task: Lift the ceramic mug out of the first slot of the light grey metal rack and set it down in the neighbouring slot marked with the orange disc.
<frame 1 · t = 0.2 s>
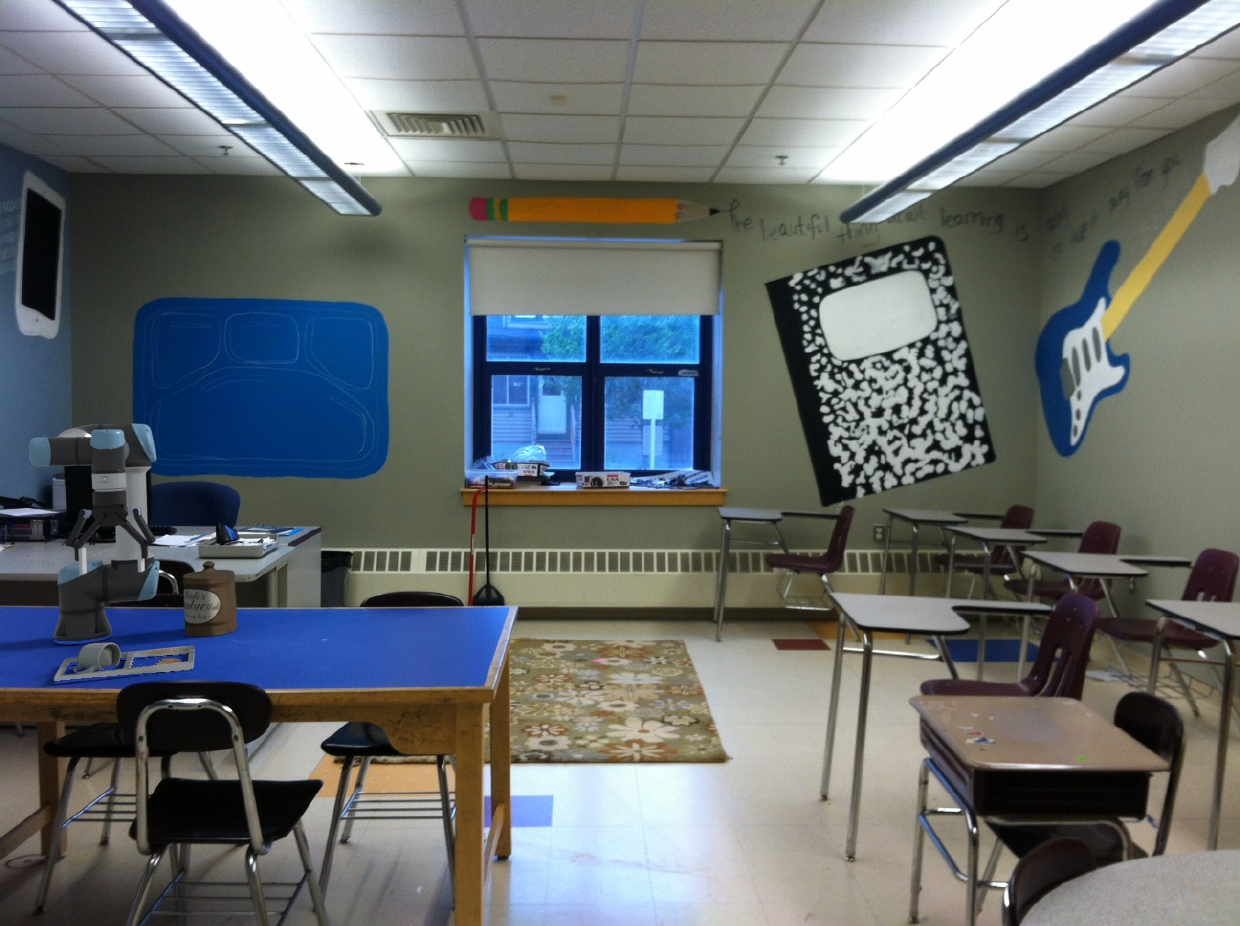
hand: (112, 572, 227), 27 cm above the table, fingers open, 13 cm apart
wooden container: (211, 631, 276), on the table
slot rack: (129, 667, 236), on the table
ceramic mug: (95, 672, 232), on the table
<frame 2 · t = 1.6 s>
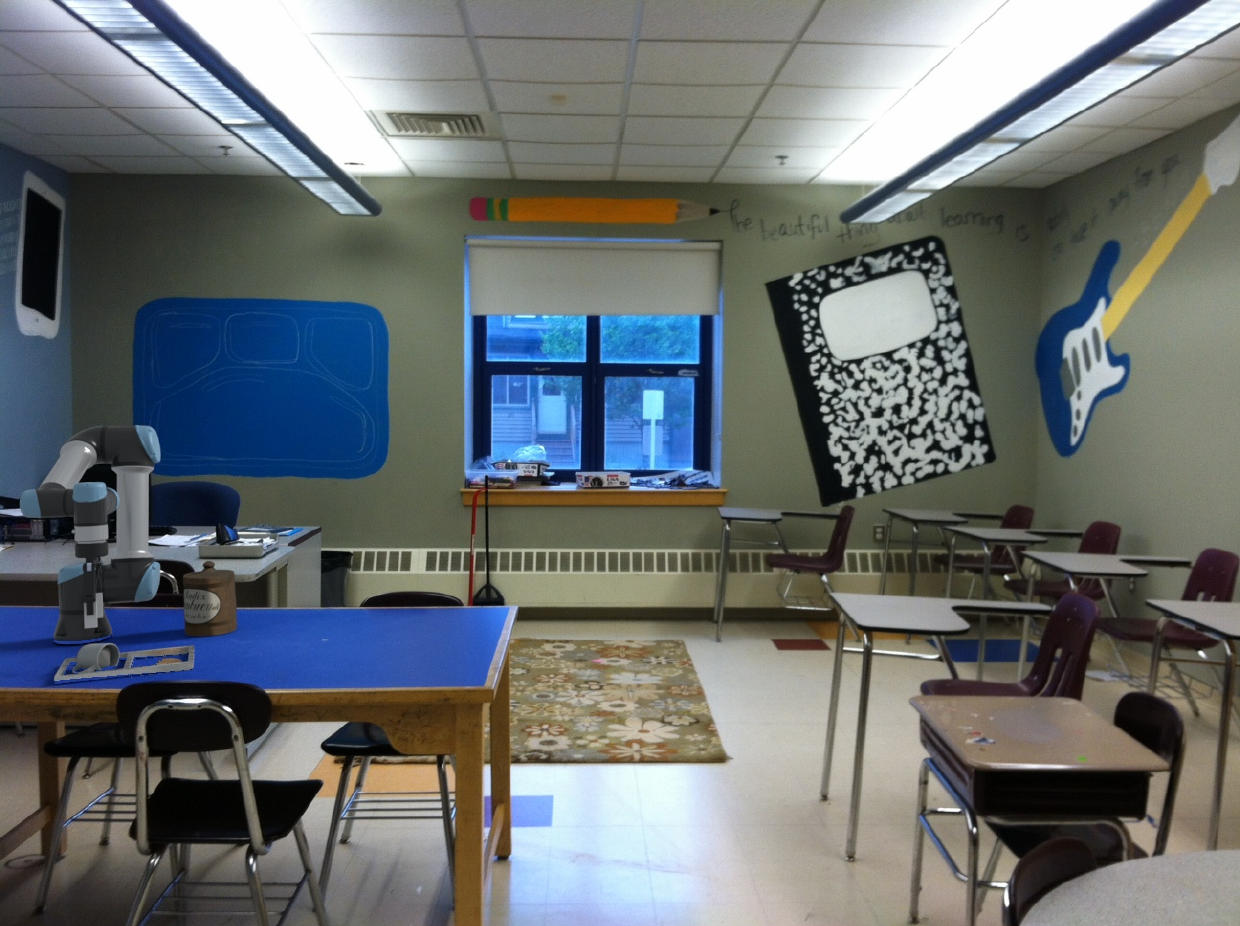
hand: (94, 622, 232), 13 cm above the table, fingers open, 13 cm apart
nothing on the table moved.
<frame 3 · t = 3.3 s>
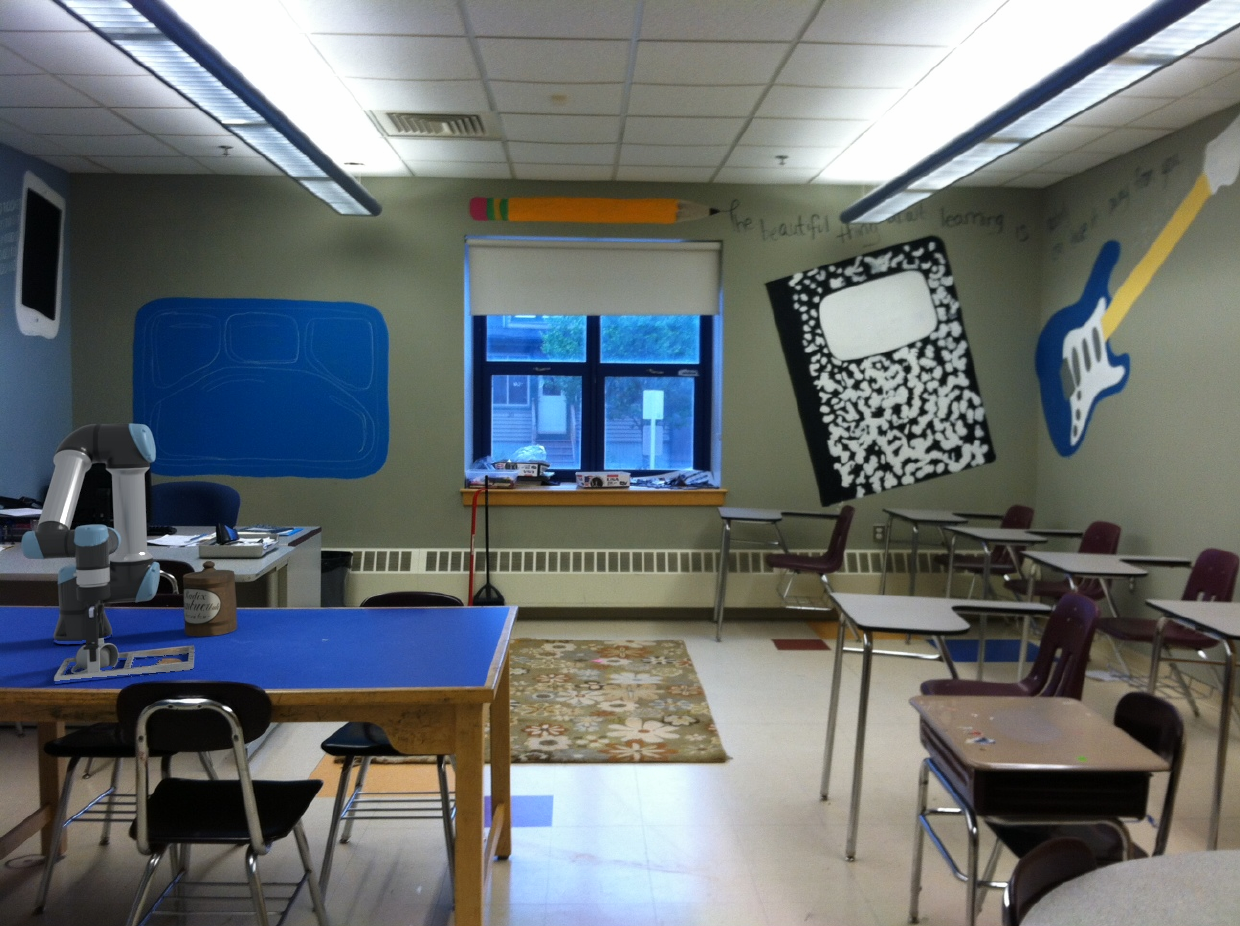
hand: (96, 668, 233), 1 cm above the table, fingers closed on ceramic mug, 10 cm apart
ceramic mug: (93, 672, 232), on the table, touching gripper
everything else where it was.
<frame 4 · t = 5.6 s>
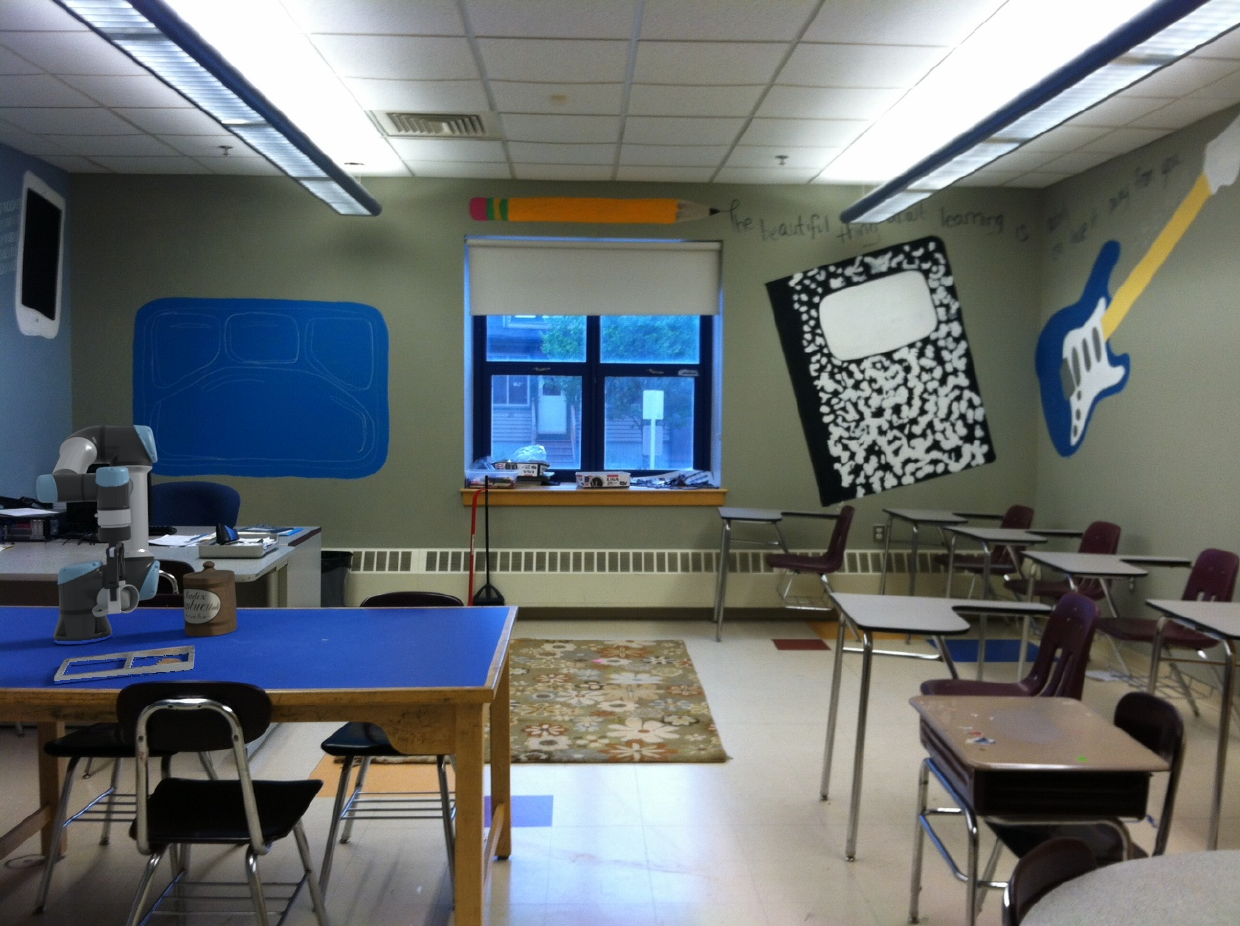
hand: (117, 609, 234), 16 cm above the table, fingers closed on ceramic mug, 10 cm apart
ceramic mug: (114, 614, 233), point 15 cm above the table, touching gripper
everything else where it was.
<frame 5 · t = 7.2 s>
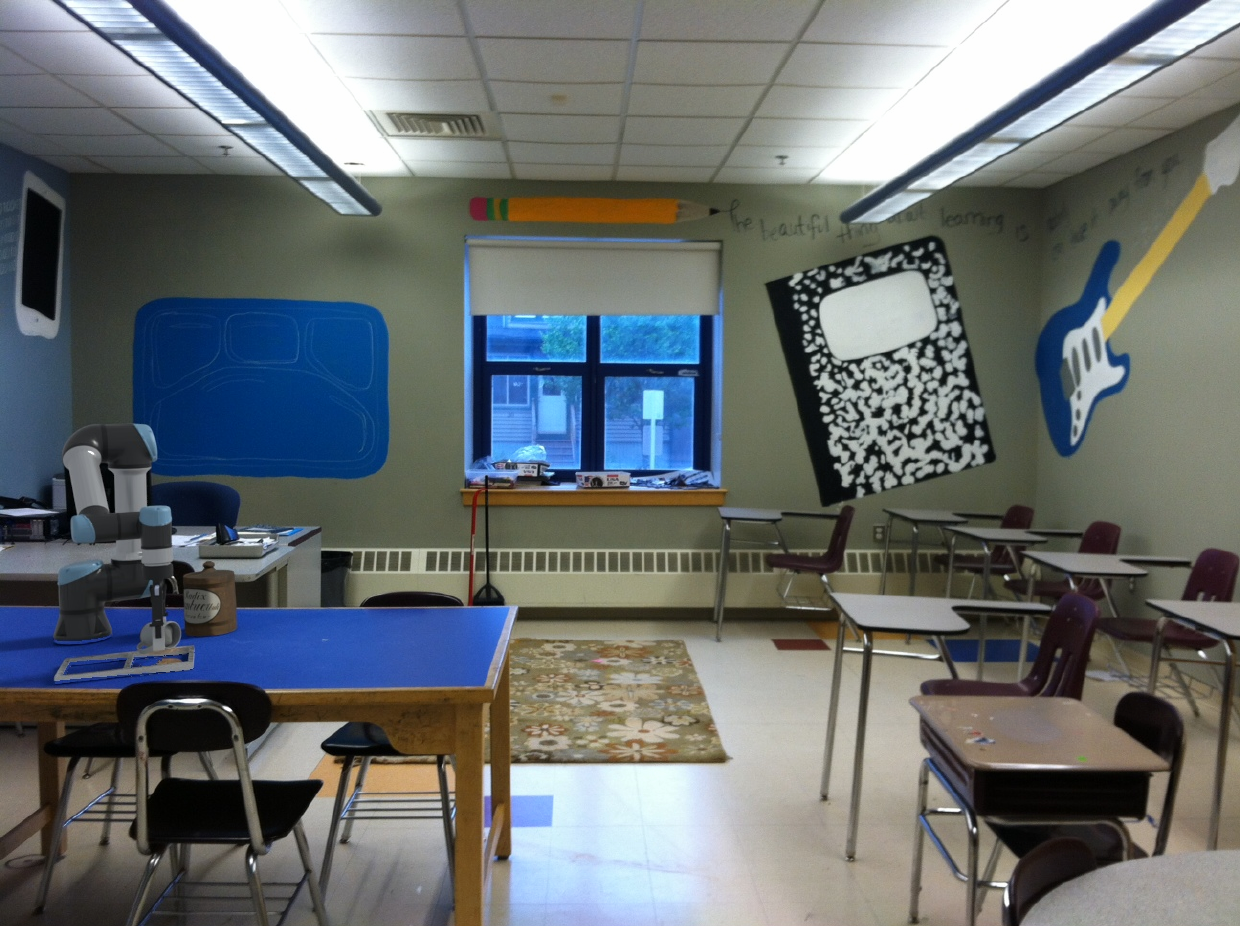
hand: (160, 645, 239), 5 cm above the table, fingers closed on ceramic mug, 10 cm apart
ceramic mug: (157, 650, 238), point 4 cm above the table, touching gripper
everything else where it was.
when the fingers open (2 cm above the table, at t = 8.3 s): ceramic mug drops 1 cm, resting on slot rack.
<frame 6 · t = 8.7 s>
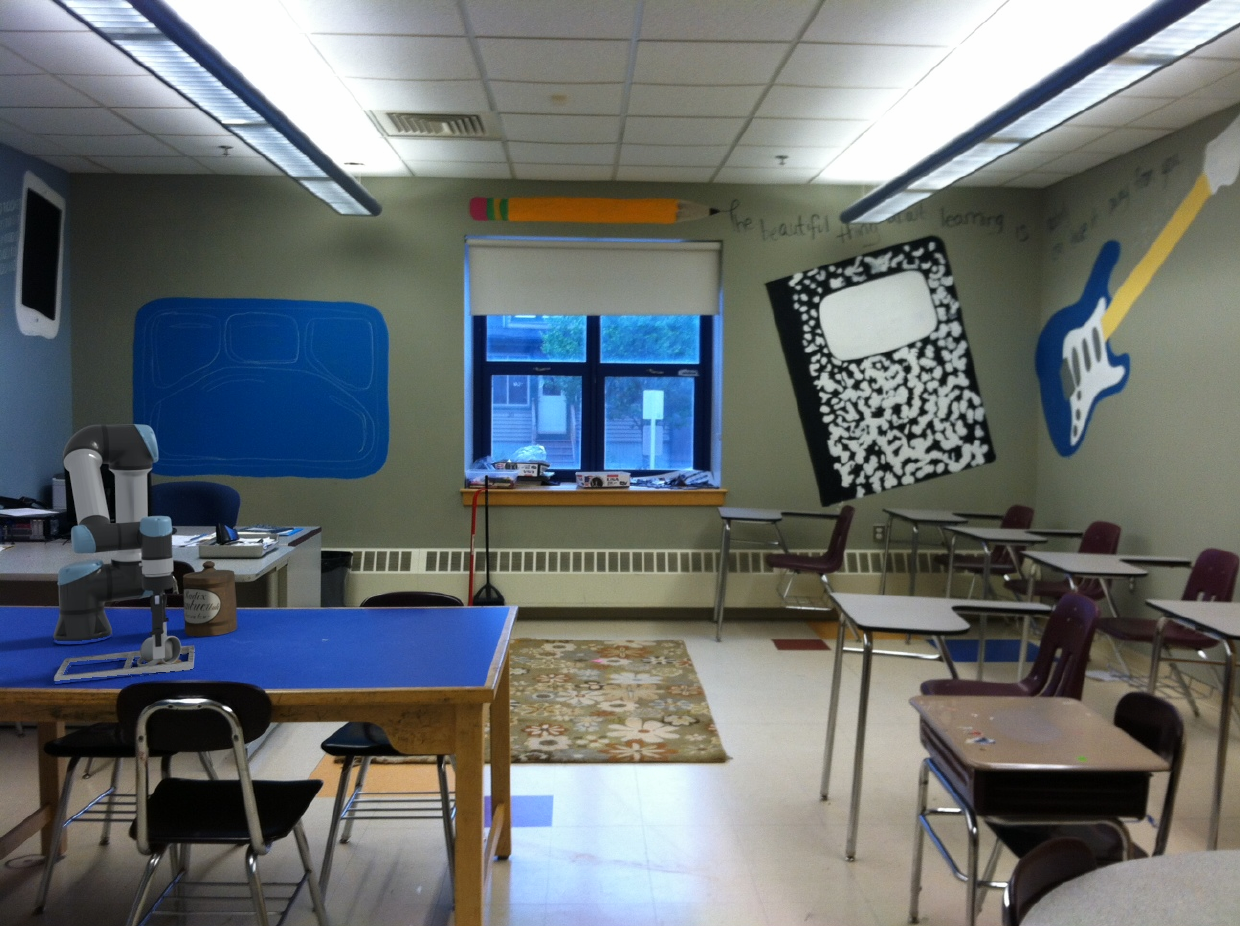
hand: (160, 652, 239), 3 cm above the table, fingers open, 13 cm apart
ceramic mug: (157, 664, 238), resting on slot rack
everything else where it was.
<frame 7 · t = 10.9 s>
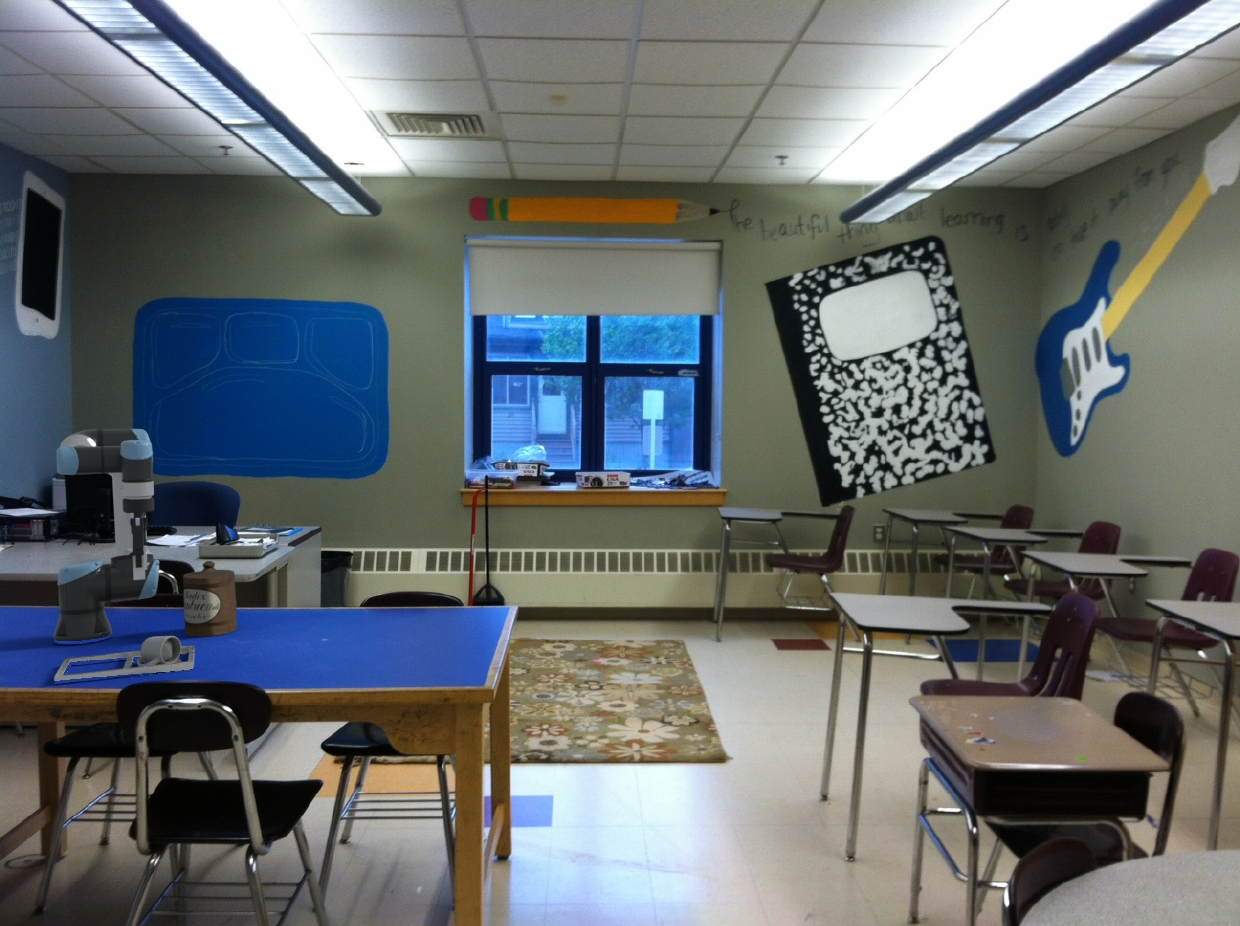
hand: (140, 574, 242), 24 cm above the table, fingers open, 13 cm apart
nothing on the table moved.
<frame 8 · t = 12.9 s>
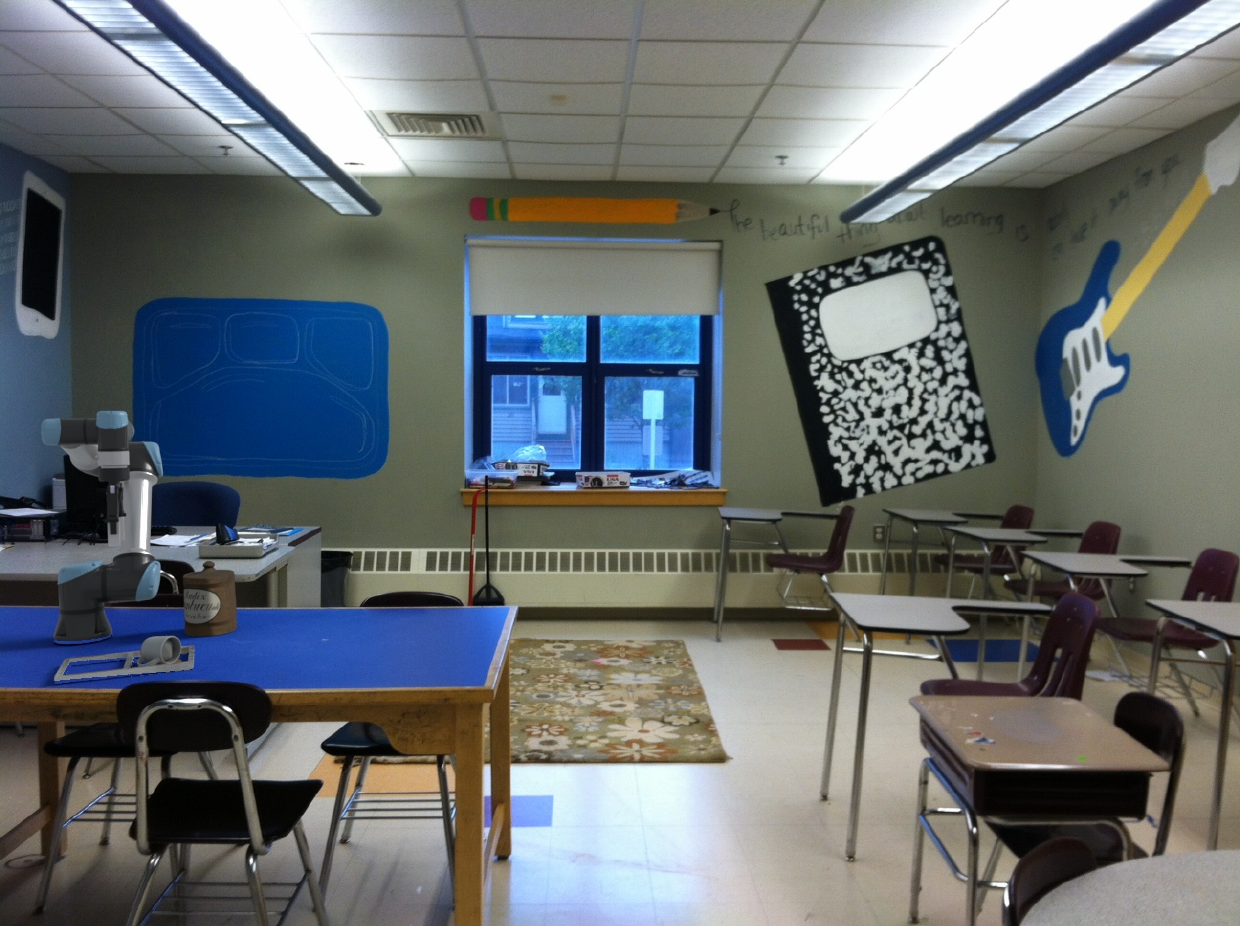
hand: (116, 543, 246), 32 cm above the table, fingers open, 13 cm apart
nothing on the table moved.
at the end: ceramic mug inside the target area on the slot rack (0.9 cm from its centre), point 0.0 cm above the slot rack's base; ceramic mug tilted 1°; the gripper is holding nothing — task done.
